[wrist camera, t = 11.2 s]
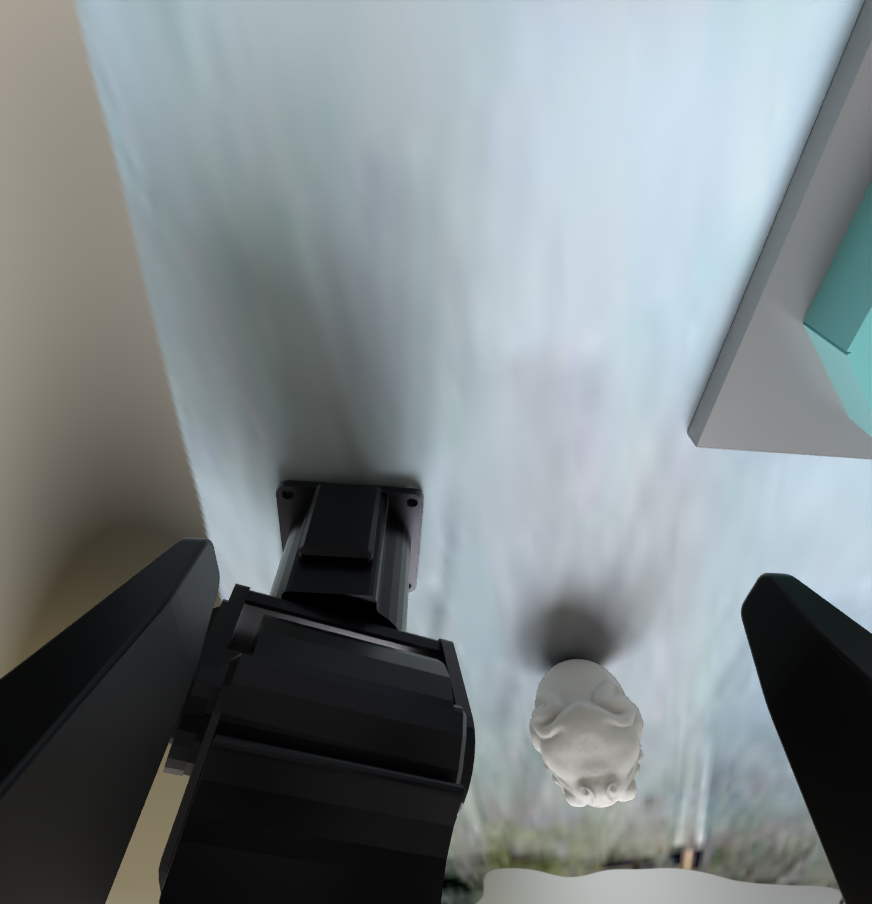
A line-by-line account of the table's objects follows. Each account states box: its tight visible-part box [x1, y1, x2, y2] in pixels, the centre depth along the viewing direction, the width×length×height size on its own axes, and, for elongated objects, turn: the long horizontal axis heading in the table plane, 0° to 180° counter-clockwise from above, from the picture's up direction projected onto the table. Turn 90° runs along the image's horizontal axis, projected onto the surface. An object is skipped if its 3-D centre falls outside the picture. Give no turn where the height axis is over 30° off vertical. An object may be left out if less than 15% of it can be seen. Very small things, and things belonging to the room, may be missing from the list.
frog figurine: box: [529, 659, 644, 807], centre depth 30 cm, size 6×7×7 cm
